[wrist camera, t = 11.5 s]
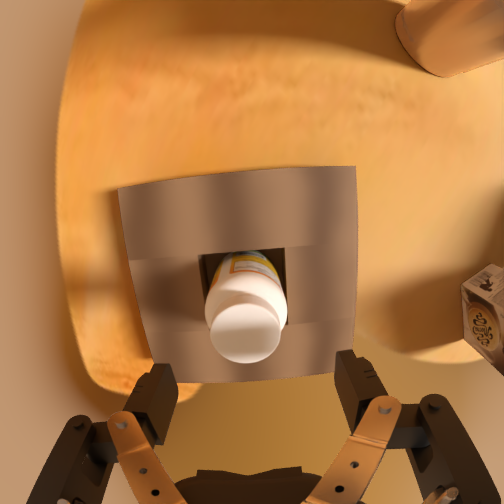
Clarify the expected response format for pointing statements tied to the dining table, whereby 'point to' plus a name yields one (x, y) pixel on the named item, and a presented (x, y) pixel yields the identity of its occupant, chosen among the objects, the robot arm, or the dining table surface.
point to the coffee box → (485, 314)
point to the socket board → (243, 239)
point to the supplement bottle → (245, 307)
